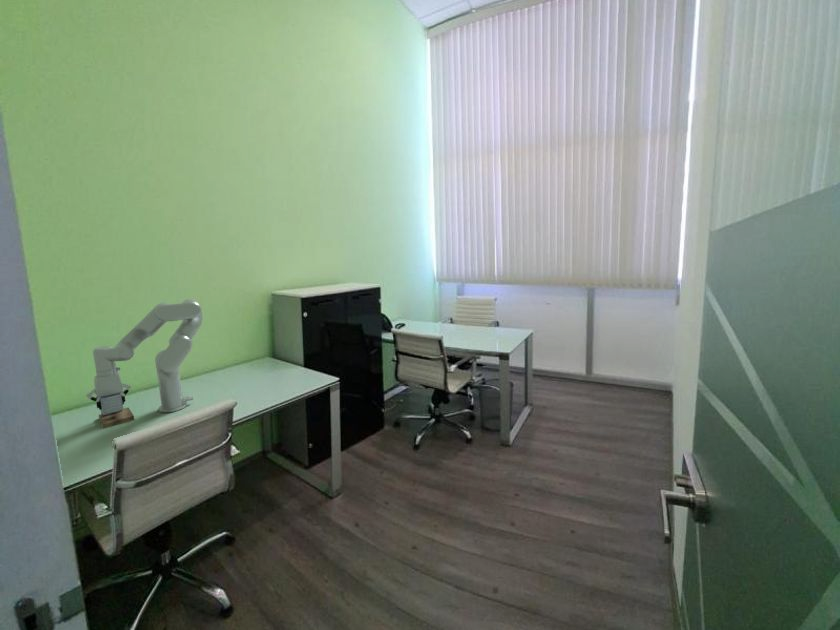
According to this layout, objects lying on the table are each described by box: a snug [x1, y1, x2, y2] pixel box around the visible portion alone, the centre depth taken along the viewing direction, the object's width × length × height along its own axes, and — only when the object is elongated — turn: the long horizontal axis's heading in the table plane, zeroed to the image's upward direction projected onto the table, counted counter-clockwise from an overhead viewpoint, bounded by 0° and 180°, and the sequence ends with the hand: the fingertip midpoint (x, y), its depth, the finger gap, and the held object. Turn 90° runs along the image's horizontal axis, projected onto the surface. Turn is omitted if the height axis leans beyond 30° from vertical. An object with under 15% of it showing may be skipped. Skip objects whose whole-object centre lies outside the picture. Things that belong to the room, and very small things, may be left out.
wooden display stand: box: [98, 407, 135, 429], centre depth 186 cm, size 12×14×10 cm
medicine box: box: [100, 393, 124, 415], centre depth 183 cm, size 8×4×9 cm, turn 139°
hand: (111, 406), depth 183 cm, fingers closed on medicine box, 8 cm apart
